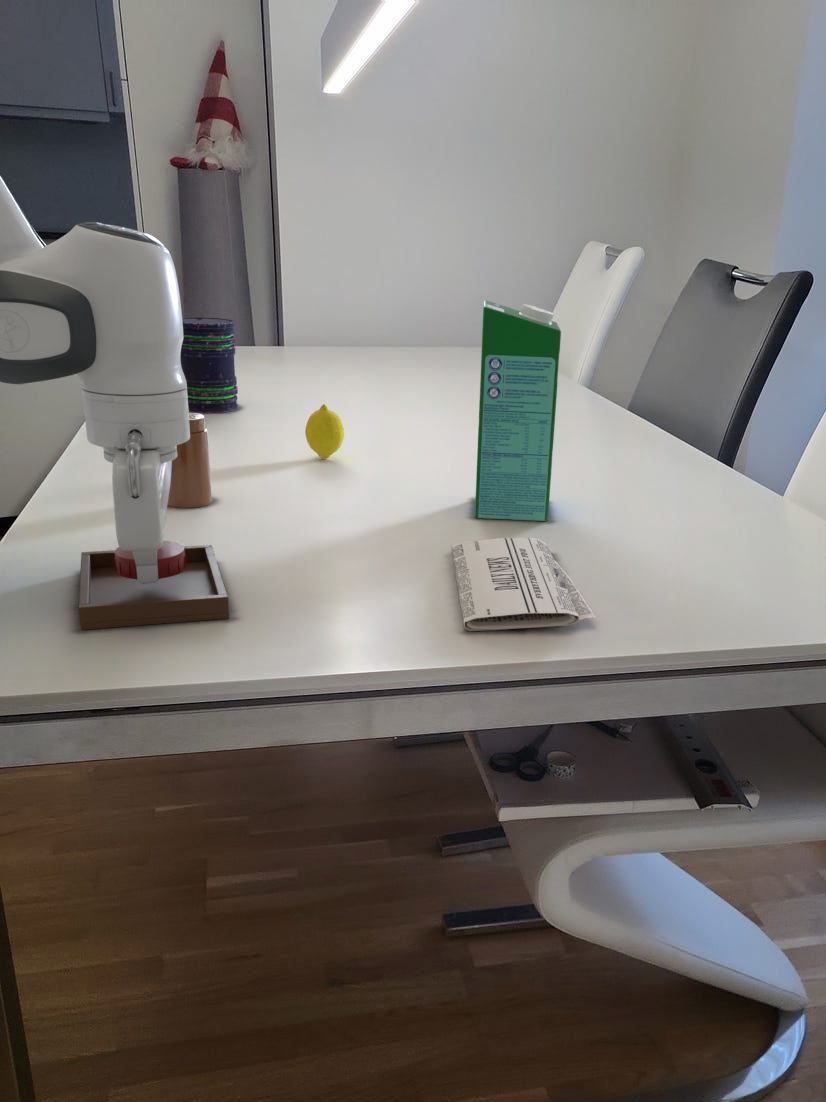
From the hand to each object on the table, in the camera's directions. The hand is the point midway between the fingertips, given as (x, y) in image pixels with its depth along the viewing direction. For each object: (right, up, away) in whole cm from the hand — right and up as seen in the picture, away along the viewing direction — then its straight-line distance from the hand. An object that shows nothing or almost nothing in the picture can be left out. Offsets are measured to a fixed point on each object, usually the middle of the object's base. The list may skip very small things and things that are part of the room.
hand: (150, 567), depth 97 cm
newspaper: (+35, -2, +7) cm, 36 cm away
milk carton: (+35, +10, +34) cm, 50 cm away
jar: (-5, +10, +31) cm, 33 cm away
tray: (0, -2, +1) cm, 3 cm away
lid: (0, +1, -1) cm, 1 cm away
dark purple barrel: (-17, +34, +87) cm, 95 cm away
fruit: (+8, +20, +55) cm, 59 cm away
